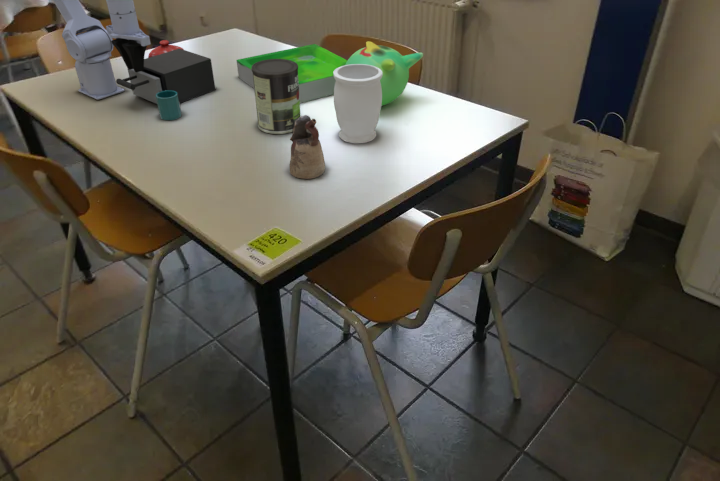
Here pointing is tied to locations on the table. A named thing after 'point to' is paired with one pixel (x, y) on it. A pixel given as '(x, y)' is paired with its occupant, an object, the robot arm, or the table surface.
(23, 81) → the table surface
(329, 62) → the tray
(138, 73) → the drawer
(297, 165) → the figurine
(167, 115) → the container
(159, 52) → the butter dish
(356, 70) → the jar
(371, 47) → the toy bird
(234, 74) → the table surface
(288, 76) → the coffee can
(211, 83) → the dark grey storage box
